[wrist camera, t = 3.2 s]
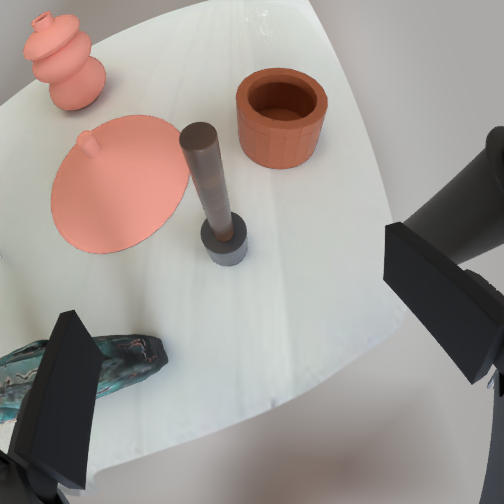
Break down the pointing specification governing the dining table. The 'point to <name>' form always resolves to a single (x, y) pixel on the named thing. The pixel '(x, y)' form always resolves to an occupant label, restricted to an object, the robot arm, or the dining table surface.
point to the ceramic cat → (111, 377)
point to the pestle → (213, 195)
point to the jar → (280, 116)
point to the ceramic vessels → (104, 150)
